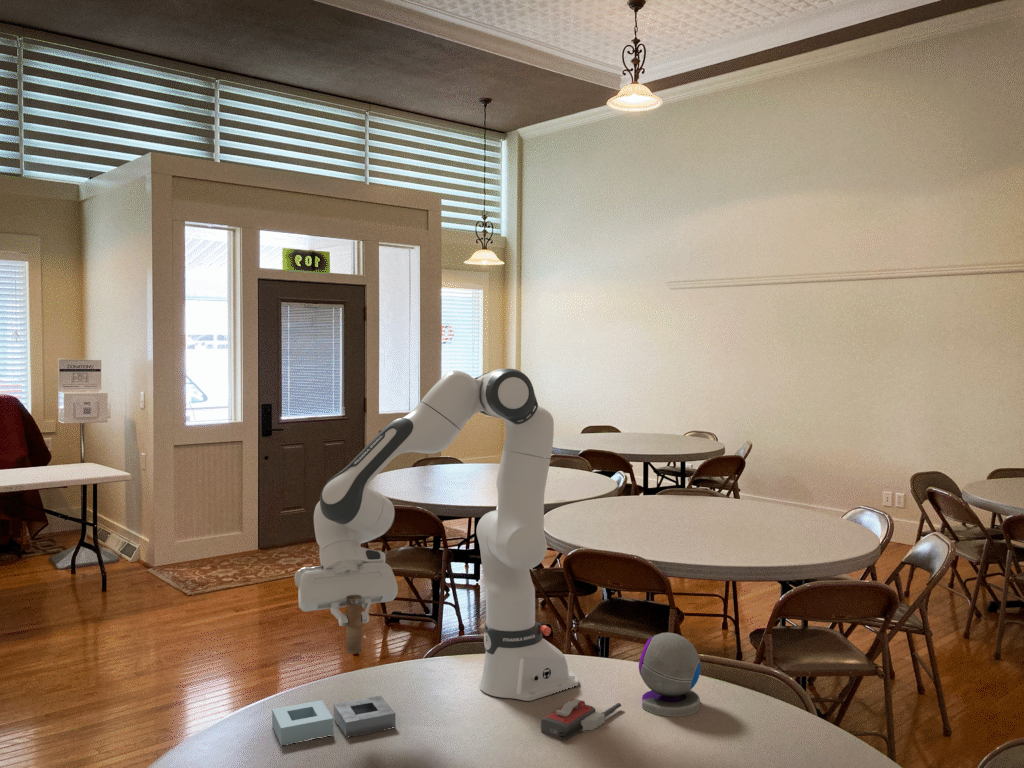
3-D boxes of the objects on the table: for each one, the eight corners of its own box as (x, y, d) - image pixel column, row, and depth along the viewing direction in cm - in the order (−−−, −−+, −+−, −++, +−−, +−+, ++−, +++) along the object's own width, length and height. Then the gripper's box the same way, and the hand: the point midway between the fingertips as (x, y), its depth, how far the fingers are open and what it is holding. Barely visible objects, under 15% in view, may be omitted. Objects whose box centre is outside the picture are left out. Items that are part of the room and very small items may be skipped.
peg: (359, 647, 168) (359, 594, 168) (363, 652, 165) (363, 597, 165) (344, 649, 167) (344, 595, 166) (348, 654, 164) (348, 599, 164)
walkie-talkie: (572, 747, 156) (624, 712, 172) (571, 724, 156) (624, 691, 172) (534, 735, 161) (588, 702, 177) (534, 712, 161) (588, 681, 177)
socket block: (381, 709, 173) (380, 695, 173) (395, 727, 164) (395, 713, 164) (333, 718, 169) (333, 704, 169) (346, 737, 160) (345, 722, 160)
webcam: (648, 688, 184) (648, 621, 183) (706, 698, 178) (706, 629, 178) (632, 710, 172) (631, 639, 172) (693, 721, 166) (692, 647, 166)
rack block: (321, 716, 170) (321, 700, 170) (333, 735, 161) (333, 718, 161) (272, 726, 166) (272, 708, 166) (281, 746, 157) (281, 728, 156)
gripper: (294, 560, 167) (304, 621, 159) (391, 551, 176) (406, 608, 168) (290, 577, 171) (300, 637, 163) (385, 567, 180) (399, 624, 172)
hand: (354, 622), depth 165 cm, fingers closed on peg, 3 cm apart
